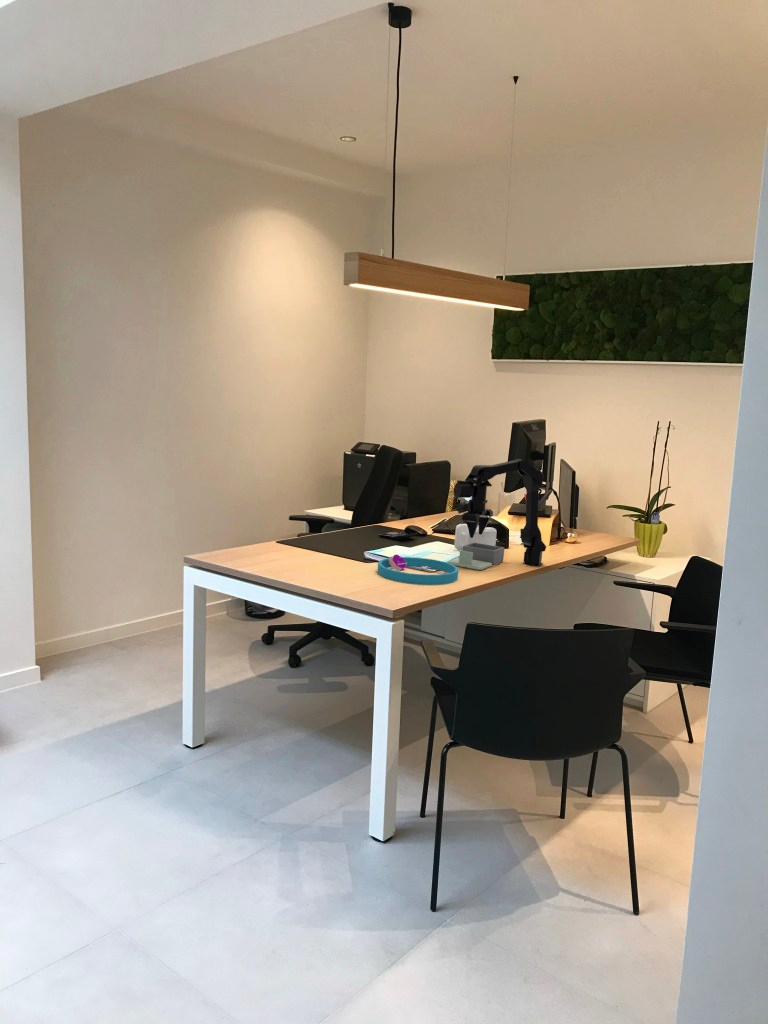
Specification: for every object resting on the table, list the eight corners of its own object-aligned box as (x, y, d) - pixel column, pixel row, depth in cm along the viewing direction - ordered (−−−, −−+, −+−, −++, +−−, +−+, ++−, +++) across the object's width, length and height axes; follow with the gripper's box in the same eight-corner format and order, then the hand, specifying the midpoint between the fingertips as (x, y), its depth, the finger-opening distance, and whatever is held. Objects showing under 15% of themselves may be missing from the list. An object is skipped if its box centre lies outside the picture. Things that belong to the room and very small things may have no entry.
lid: (491, 567, 332) (493, 550, 331) (480, 571, 322) (482, 554, 321) (459, 561, 339) (460, 545, 338) (447, 565, 329) (448, 549, 328)
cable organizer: (481, 549, 368) (483, 523, 366) (495, 554, 359) (498, 527, 357) (453, 550, 360) (455, 524, 359) (467, 555, 351) (469, 528, 350)
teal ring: (406, 563, 328) (407, 548, 327) (472, 577, 311) (473, 562, 311) (361, 574, 304) (362, 558, 303) (430, 590, 287) (431, 573, 286)
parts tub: (503, 561, 343) (504, 547, 342) (493, 565, 334) (494, 551, 333) (472, 556, 350) (473, 542, 349) (461, 560, 340) (463, 545, 339)
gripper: (469, 492, 338) (466, 530, 340) (450, 497, 322) (447, 536, 324) (494, 495, 332) (491, 533, 335) (476, 500, 316) (474, 540, 319)
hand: (476, 536), depth 328 cm, fingers open, 9 cm apart
